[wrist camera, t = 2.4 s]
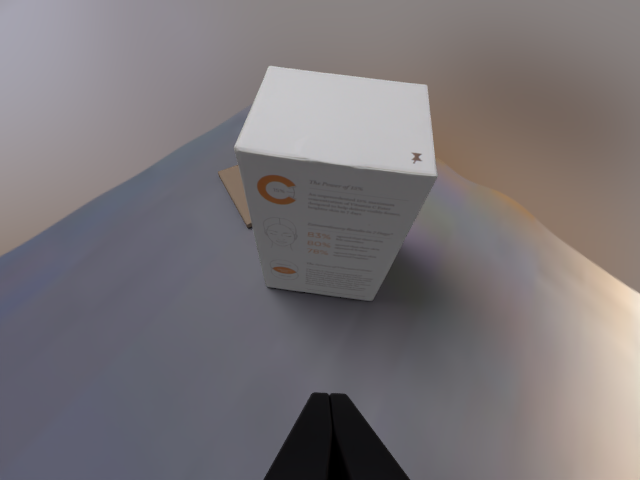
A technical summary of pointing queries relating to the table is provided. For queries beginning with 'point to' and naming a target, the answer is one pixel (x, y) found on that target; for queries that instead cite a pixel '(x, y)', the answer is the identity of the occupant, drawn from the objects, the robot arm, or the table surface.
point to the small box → (334, 177)
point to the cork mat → (236, 191)
